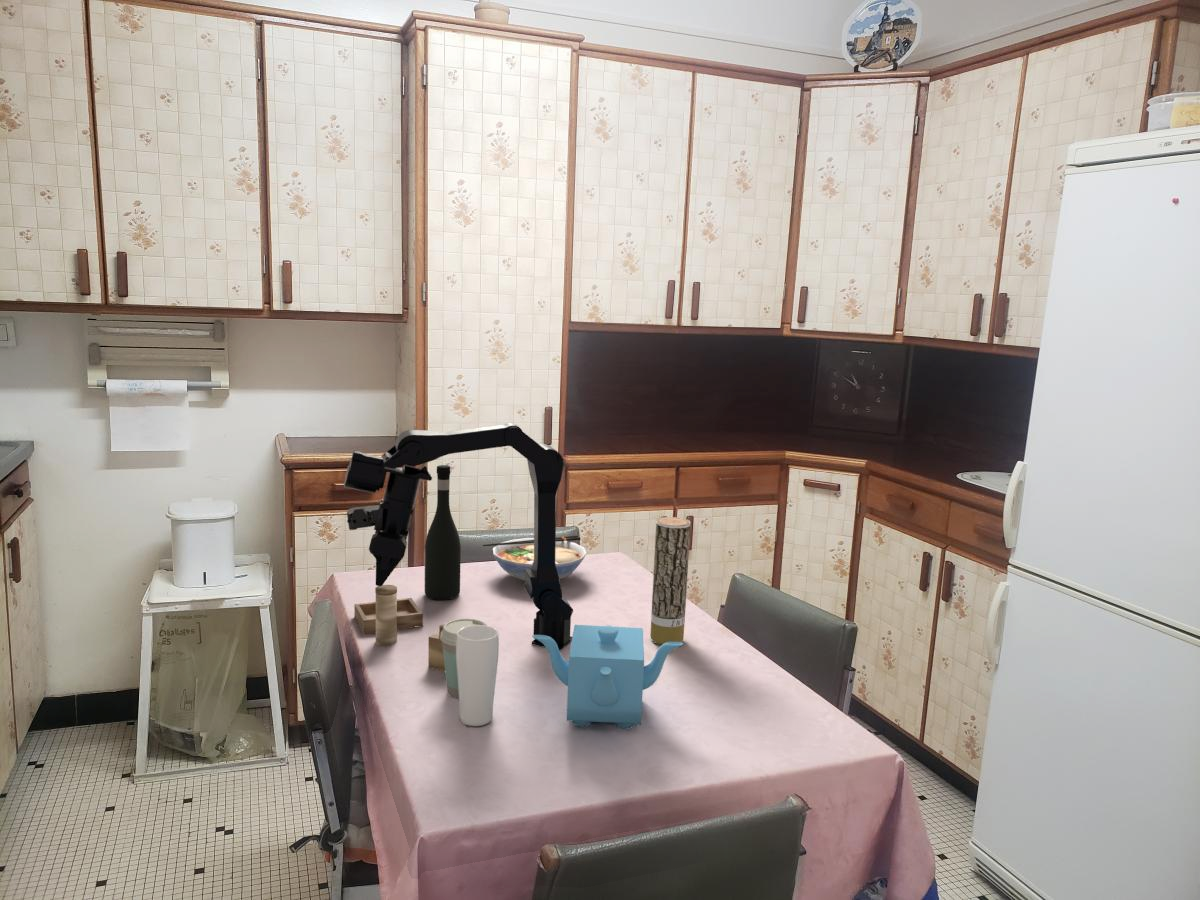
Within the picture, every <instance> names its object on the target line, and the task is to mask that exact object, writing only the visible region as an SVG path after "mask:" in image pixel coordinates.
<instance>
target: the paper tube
mask: <svg viewBox="0 0 1200 900" xmlns="http://www.w3.org/2000/svg"><path fill="white" fill-rule="evenodd" d="M654 537H655V538H654V542H655V543H654V558H653V561H654V562H653V575H652V576H653V577H652V578H653V579H652V595H651V599H652V600H651V611H650V612H651V615H650V617H651V618H650V637H649V638H650V639H651V641H652V642H654V643H655V644H657V645H660V646H661V645H663V644H664V643H667V642H682V643H683V641H684V637H685V636H684V635H685V623H686V622H685V621H686V620H685V619H686V607H687V606H686V605H687V589H688V588H687V587H688V575H689V574H688V572H689V571H688V570H689V559H690V558H689V556H690V539H691V520H689V519H686V518H684V517H683V518H682V517H678V516H677V517H674V516H665V517H664V516H663V517H659V518H657V519H656V522H655V536H654Z"/></svg>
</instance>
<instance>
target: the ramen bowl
mask: <svg viewBox="0 0 1200 900" xmlns="http://www.w3.org/2000/svg"><path fill="white" fill-rule="evenodd" d="M572 541H573V542H572ZM574 541H581V537H580V536H579V535H577V534H576V535H567V536H559V537H558V536H556V551H555V564H556V568H557V572H558V576H559V579H560V580H561V579H564V578H566V577H568V576H570V575H571V574H573V573H574V572H575V571H576V570H577V568H578V567H579V566H580V565H581V563H582V562H583V560H584V559H585V557H586V555H587V553H588V552H587V550H586V548H585V547H584V546H581V545H580V544H578V543H576V542H574ZM482 546H483V547H493V546H494V547H493V548H492V551H493V552H492V553H493V555H494V558H495V561H496V562H497V563H498V564H499V567H501V569H503V572H506V573H507V574H509V575H510V576H512V577H513V578H516V579H519V580H522V581H524V582H525V573H524V569H531V567H532V564H533V561H534V537H523V538H514V539H510V540H507V541H506V540H505V541H502V542H497V543H489V544H482Z"/></svg>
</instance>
